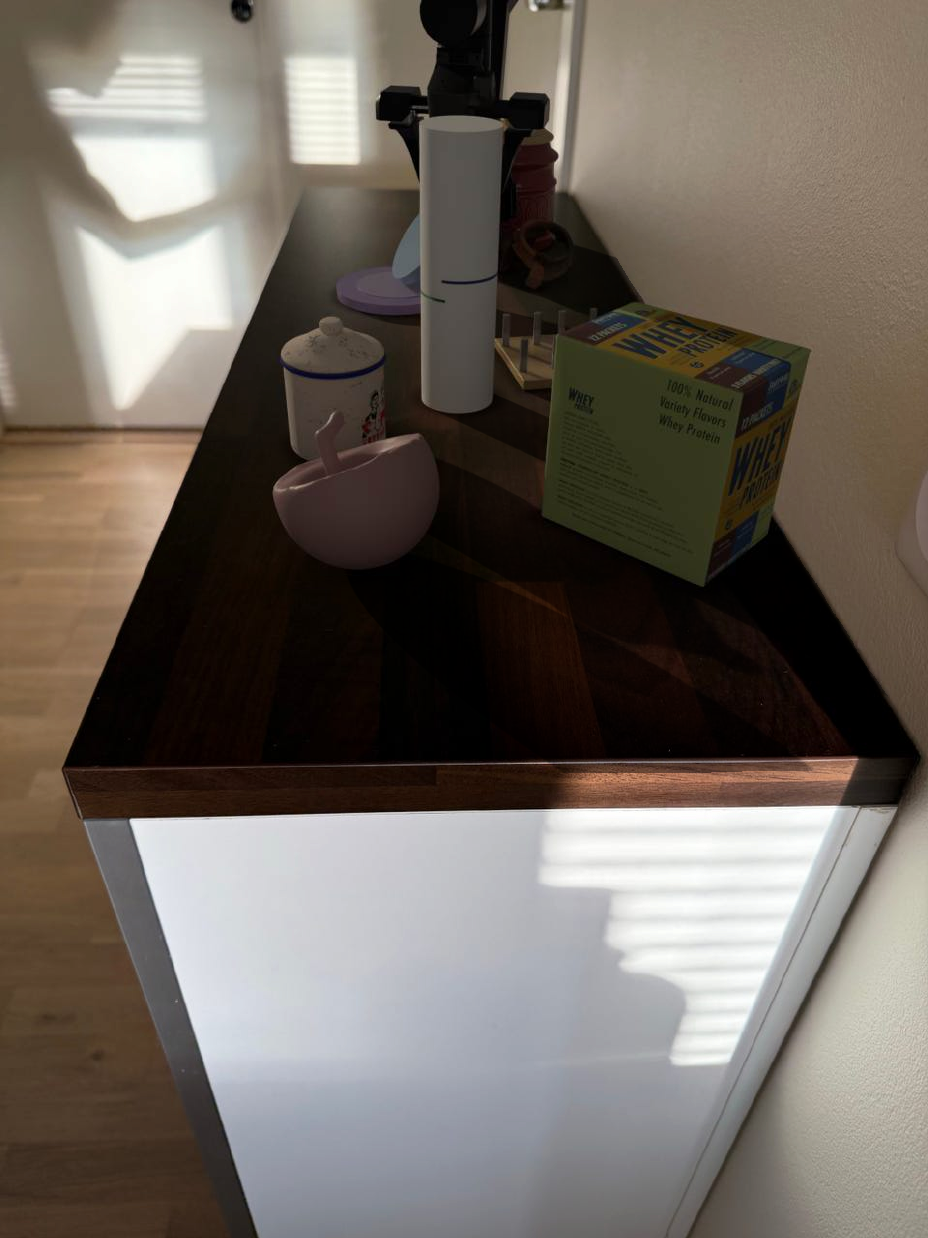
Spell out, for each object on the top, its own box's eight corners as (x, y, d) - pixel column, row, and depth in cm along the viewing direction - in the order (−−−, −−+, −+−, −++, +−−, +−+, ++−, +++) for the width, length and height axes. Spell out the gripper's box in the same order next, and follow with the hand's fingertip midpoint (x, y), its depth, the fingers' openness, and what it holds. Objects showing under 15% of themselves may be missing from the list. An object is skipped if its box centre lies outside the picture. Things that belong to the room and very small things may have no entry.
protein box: (705, 590, 72) (745, 392, 63) (538, 517, 80) (552, 332, 71) (770, 534, 79) (816, 347, 69) (610, 472, 86) (631, 296, 77)
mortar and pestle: (359, 500, 82) (352, 369, 75) (471, 551, 76) (474, 414, 69) (248, 560, 74) (229, 421, 67) (362, 622, 68) (354, 476, 61)
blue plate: (411, 211, 126) (465, 176, 117) (420, 218, 127) (474, 184, 117) (380, 290, 124) (433, 260, 114) (389, 296, 124) (442, 267, 114)
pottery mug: (559, 268, 134) (581, 221, 127) (555, 320, 130) (578, 275, 123) (475, 244, 132) (492, 195, 125) (468, 296, 128) (486, 248, 120)
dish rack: (494, 346, 110) (495, 306, 107) (587, 340, 112) (591, 300, 109) (523, 390, 100) (525, 347, 98) (624, 382, 102) (629, 340, 100)
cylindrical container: (485, 416, 95) (495, 134, 80) (414, 409, 96) (410, 128, 81) (498, 387, 101) (509, 118, 86) (430, 380, 102) (429, 113, 87)
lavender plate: (354, 271, 130) (354, 261, 129) (465, 279, 128) (466, 269, 127) (321, 309, 118) (321, 299, 117) (444, 319, 116) (444, 308, 115)
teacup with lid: (385, 469, 86) (381, 340, 79) (282, 467, 86) (268, 338, 79) (392, 410, 96) (389, 291, 89) (299, 409, 96) (289, 289, 89)
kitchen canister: (449, 234, 145) (450, 100, 134) (528, 225, 149) (535, 95, 138) (485, 259, 135) (489, 117, 125) (568, 249, 139) (579, 112, 129)
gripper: (358, 38, 99) (365, 201, 108) (542, 47, 96) (532, 213, 106) (386, 26, 108) (390, 178, 117) (555, 34, 105) (545, 188, 115)
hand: (462, 189), depth 113 cm, fingers open, 9 cm apart
